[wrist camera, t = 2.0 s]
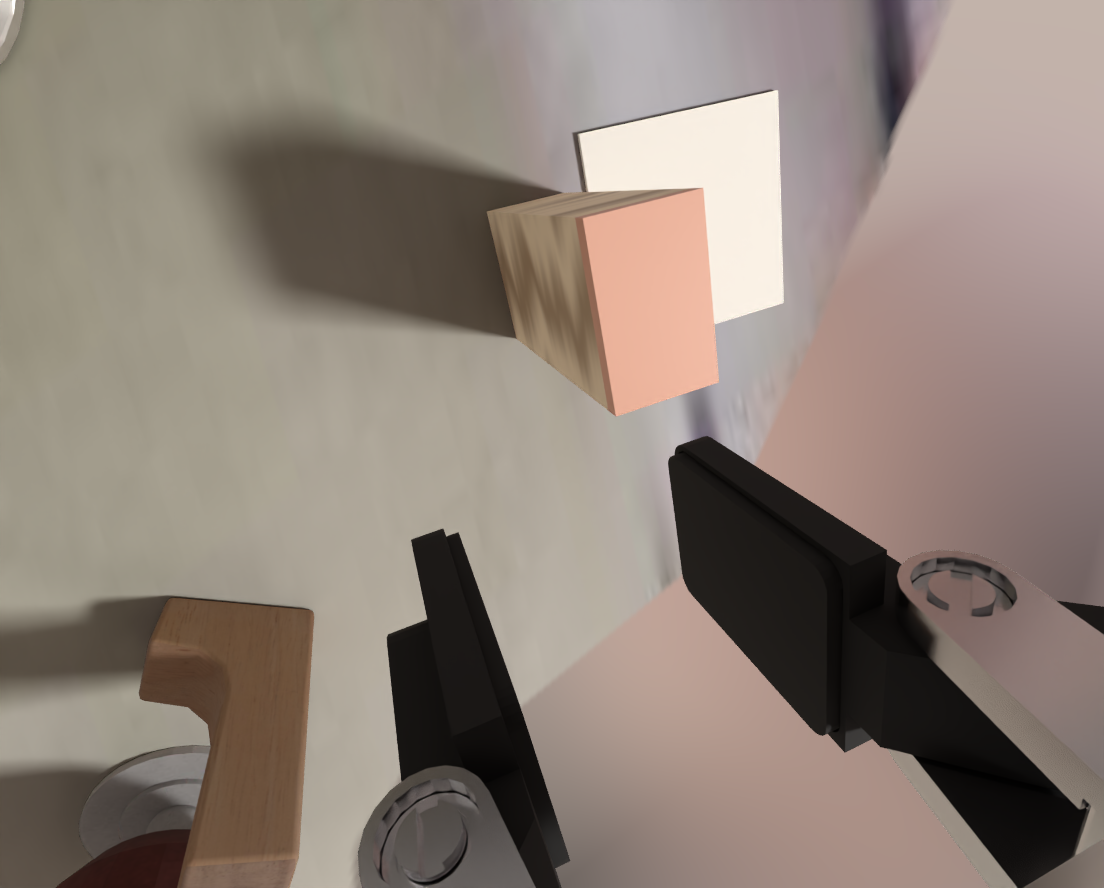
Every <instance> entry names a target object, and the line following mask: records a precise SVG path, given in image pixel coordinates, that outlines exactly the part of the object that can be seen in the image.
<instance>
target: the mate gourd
mask: <svg viewBox="0 0 1104 888" xmlns="http://www.w3.org/2000/svg"><path fill="white" fill-rule="evenodd" d="M210 747H211V746H182V747H173V748H168V749H164V750H159V751H155V752H152V753H149V754H146V755H143V756H141V757H138V758H135V759H133V760H131V761H130V762H128V763H126V764H124V765H122V766H120V767H118V768H117V769H116V770H114V771H113V772H112V773H110V774H109V775H107V776H106V777H105V778H104V779H103V780H102V781H101V782H100V783H99V784H98V785H97V786H96V787H95V788H94V789H93V791H92V793H91V794H90V796H89V798H88V799H87V801H86V803H85V806H84V808H83V810H82V814H81V817H80V821H79V836H80V838H81V841H82V843H83V846H84V848H85V849H86V850H87V851H88V853H89V854H90V855H91V856H92V857H93V858H94V859H93V860H92V861H91V862H89V863H88V864H87V865H85V866H84V867H82V868H81V869H80V870H78V871H77V872H76V873H74V874H73V875H71V876H70V877H69V878H67V879H66V880H65V881H63V882H62V883H61V884H59V885H58V886H57V887H56V888H177V886H178V882H179V878H180V873H181V869H182V865H183V861H184V856H185V852H186V848H187V844H188V840H189V835H190V831H191V827H192V823H193V819H194V815H195V810H196V806H197V802H198V798H199V794H200V789H201V785H202V781H203V777H204V773H205V768H206V764H207V760H208V756H209V752H210Z"/></svg>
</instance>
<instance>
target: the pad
mask: <svg viewBox="0 0 1104 888" xmlns="http://www.w3.org/2000/svg"><path fill="white" fill-rule="evenodd" d="M577 136H578V142H579V149H580V155H581V161H582V167H583V173H584V179H585V186H586V192H603V191H630V190H657V189H684V188H703V190H704V203H705V215H706V228H707V240H708V252H709V265H710V277H711V290H712V302H713V315H714V324H717V323H720V322H723V321H727V320H730V319H733V318H736V317H740V316H743V315H746V314H749V313H753V312H756V311H759V310H762V309H766V308H769V307H772V306H775V305H779V304H782V303H784V299H783V261H782V224H781V187H780V149H779V112H778V90H776V91H771V92H767V93H762V94H758V95H753V96H749V97H744V98H740V99H735V100H730V101H726V102H721V103H717V104H712V105H708V106H703V107H699V108H694V109H690V110H685V111H681V112H676V113H671V114H667V115H662V116H658V117H653V118H649V119H644V120H640V121H635V122H631V123H626V124H621V125H617V126H612V127H608V128H603V129H599V130H594V131H590V132H585V133H581V134H577Z"/></svg>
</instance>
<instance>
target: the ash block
mask: <svg viewBox="0 0 1104 888" xmlns="http://www.w3.org/2000/svg"><path fill="white" fill-rule="evenodd" d="M487 215H488V219H489V224H490V228H491V232H492V236H493V241H494V245H495V249H496V253H497V258H498V262H499V266H500V270H501V275H502V279H503V283H504V287H505V292H506V296H507V300H508V305H509V309H510V313H511V317H512V322H513V326H514V330H515V334H516V339H518V340H519V341H520V342H521V343H523V344H524V345H525V346H527V347H528V348H529V349H530V350H532V351H533V352H534V353H536V354H537V355H538V356H539V357H541V358H542V359H543V360H544V361H546V362H547V363H548V364H550V365H551V366H552V367H553V368H555V369H556V370H557V371H559V372H560V373H561V374H562V375H564V376H565V377H566V378H567V379H569V380H570V381H571V382H573V383H574V384H575V385H576V386H578V387H579V388H580V389H582V390H583V391H584V392H585V393H587V394H588V395H589V396H590V397H592V398H593V399H594V400H596V401H597V402H598V403H599V404H601V405H602V406H603V407H605V408H606V409H607V410H608V411H610V412H611V413H612V414H613V415H615V416H619V415H622V414H625V413H628V412H631V411H634V410H637V409H640V408H643V407H646V406H649V405H652V404H655V403H658V402H661V401H664V400H667V399H670V398H673V397H676V396H679V395H682V394H685V393H688V392H691V391H694V390H697V389H700V388H703V387H706V386H709V385H712V384H715V383H718V382H719V377H718V364H717V352H716V340H715V327H714V315H713V302H712V290H711V277H710V265H709V252H708V240H707V228H706V215H705V203H704V190H703V188H684V189H657V190H630V191H603V192H576V193H561V194H557V195H553V196H549V197H545V198H540V199H536V200H532V201H528V202H524V203H520V204H516V205H511V206H507V207H503V208H499V209H495V210H491V211H487Z"/></svg>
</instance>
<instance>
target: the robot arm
mask: <svg viewBox="0 0 1104 888" xmlns="http://www.w3.org/2000/svg"><path fill="white" fill-rule="evenodd" d="M23 10H24V0H0V64H1V63H2V62H3V61H4V60H5V59H6V58H7V56H8V54H9V52H10V50H11V48H12V46H13V44H14V42H15V40H16V38H17V36H18V33H19V29H20V24H21V20H22V15H23ZM668 467H669V475H670V482H671V490H672V498H673V505H674V513H675V521H676V529H677V536H678V544H679V552H680V560H681V567H682V574H683V579H684V581H685V584H686V586H687V588H688V590H689V592H690V593H691V594H692V595H693V597H694V598H695V599H696V600H697V601H698V602H699V603H700V604H701V605H702V607H703V608H704V609H705V610H706V611H707V612H708V613H709V615H710V616H711V617H712V618H713V619H714V620H715V621H716V622H717V623H718V625H719V626H720V627H721V628H722V629H723V630H724V631H725V632H726V634H727V635H728V636H729V637H730V638H731V639H732V640H733V641H734V643H735V644H736V645H737V646H738V647H739V648H740V649H741V650H742V651H743V653H744V654H745V655H746V656H747V657H748V658H749V659H750V660H751V662H752V663H753V664H754V665H755V666H756V667H757V668H758V669H759V671H760V672H761V673H762V674H763V675H764V676H765V677H766V678H767V680H768V681H769V682H770V683H771V684H772V685H773V686H774V687H775V689H776V690H777V691H778V692H779V693H780V694H781V695H782V696H783V697H784V699H785V700H786V701H787V702H788V703H789V704H790V705H791V706H792V708H793V709H794V710H795V711H796V712H797V713H798V714H799V715H800V717H801V718H802V719H803V720H804V721H805V722H806V723H807V724H808V725H809V727H810V728H811V729H812V730H813V731H814V732H816V733H817V734H819V735H822V736H823V735H825V734H827V733H828V734H829V736H830V737H831V738H832V739H833V740H834V741H835V742H836V743H837V744H838V745H839V747H840V748H841V749H842V750H843V751H844V752H847V751H849V750H851V749H853V748H855V747H857V746H859V745H861V744H863V743H865V742H867V741H869V740H871V739H873V740H874V741H875V742H876V743H877V744H878V745H879V746H880V747H883V748H887V749H888V750H889V752H890V754H891V755H892V757H893V759H894V761H895V763H896V764H897V765H898V766H899V768H900V769H901V771H902V772H903V773H904V775H905V776H906V777H907V778H908V780H909V781H910V783H911V784H912V785H913V786H914V788H915V789H916V790H917V792H918V793H919V794H920V796H921V797H922V798H923V800H924V801H925V802H926V804H927V805H928V806H929V808H930V809H931V810H932V812H933V813H934V814H935V816H936V817H937V818H938V820H939V821H940V822H941V824H942V825H943V826H944V828H945V829H946V830H947V832H948V833H949V834H950V836H951V837H952V838H953V840H954V841H955V842H956V844H957V845H958V846H959V848H960V849H961V850H962V852H963V853H964V854H965V856H966V857H967V858H968V860H969V861H970V862H971V863H972V865H973V866H974V868H975V869H976V870H977V872H978V873H979V874H980V876H981V877H982V878H983V880H984V881H985V882H986V884H987V885H988V886H989V888H1104V607H1101V606H1093V605H1085V604H1076V603H1069V602H1061V601H1055V600H1054V599H1053V598H1051V597H1050V596H1048V595H1047V594H1046V593H1044V592H1043V591H1041V590H1040V589H1039V588H1037V587H1036V586H1034V585H1033V584H1031V583H1030V582H1029V581H1027V580H1026V579H1024V578H1023V577H1022V576H1020V575H1019V574H1017V573H1016V572H1014V571H1013V570H1011V569H1009V568H1008V567H1006V566H1004V565H1002V564H1001V563H999V562H997V561H994V560H991V559H989V558H986V557H983V556H980V555H977V554H972V553H967V552H961V551H949V550H948V551H947V550H936V551H930V552H924V553H920V554H918V555H915V556H913V557H910V558H908V559H907V560H906V561H905V562H904V563H903V564H900V563H899V562H897V561H896V560H894V559H893V558H891V557H890V556H888V555H887V550H886V549H884V548H883V547H881V546H880V545H878V544H876V543H875V542H873V541H872V540H870V539H869V538H867V537H866V536H864V535H862V534H861V533H859V532H858V531H856V530H855V529H853V528H851V527H850V526H848V525H847V524H845V523H844V522H842V521H840V520H839V519H837V518H836V517H834V516H833V515H831V514H830V513H828V512H826V511H825V510H823V509H822V508H820V507H819V506H817V505H815V504H814V503H812V502H811V501H809V500H808V499H806V498H804V497H803V496H801V495H800V494H798V493H797V492H795V491H794V490H792V489H790V488H789V487H787V486H786V485H784V484H782V483H781V482H779V481H778V480H776V479H775V478H773V477H772V476H770V475H769V474H767V473H765V472H764V471H762V470H761V469H759V468H758V467H756V466H754V465H753V464H751V463H750V462H748V461H747V460H745V459H744V458H742V457H740V456H739V455H737V454H736V453H734V452H733V451H731V450H729V449H728V448H726V447H725V446H723V445H722V444H720V443H718V442H717V441H715V440H714V439H712V438H711V437H708V436H705V437H701V438H699V439H696V440H693V441H690V442H687V443H684V444H682V445H679V446H677V448H676V450H675V455H674V456H672V457H670V458H669V461H668ZM411 542H412V547H413V552H414V557H415V562H416V566H417V571H418V576H419V581H420V586H421V591H422V595H423V600H424V605H425V610H426V615H427V620H425V621H422V622H420V623H417V624H414V625H412V626H409V627H406V628H404V629H401V630H399V631H396V632H393V633H391V634H388V636H387V647H388V657H389V667H390V676H391V686H392V695H393V705H394V714H395V724H396V734H397V743H398V753H399V762H400V772H401V781H402V782H401V783H399V784H398V785H397V786H396V787H394V788H393V789H392V790H390V791H389V793H388V794H387V795H386V796H385V797H384V798H383V800H382V801H381V802H380V803H379V804H378V806H377V807H376V808H375V809H374V811H373V813H372V815H371V817H370V819H369V821H368V823H367V824H366V826H365V828H364V831H363V835H362V839H361V843H360V847H359V851H358V861H359V876H360V881H361V885H362V888H561V885H560V882H559V879H558V876H557V872H556V869H555V868H557V867H559V866H561V865H563V864H565V863H567V862H569V861H570V859H569V856H568V852H567V849H566V846H565V843H564V840H563V837H562V834H561V831H560V828H559V825H558V822H557V818H556V815H555V812H554V809H553V806H552V803H551V800H550V797H549V794H548V791H547V788H546V785H545V782H544V778H543V775H542V772H541V769H540V766H539V763H538V760H537V757H536V754H535V751H534V747H533V744H532V741H531V738H530V735H529V732H528V729H527V726H526V723H525V720H524V717H523V714H522V711H521V708H520V705H519V702H518V699H517V696H516V693H515V690H514V687H513V685H512V682H511V679H510V676H509V673H508V671H507V668H506V665H505V662H504V659H503V656H502V654H501V651H500V648H499V645H498V642H497V640H496V637H495V634H494V631H493V628H492V625H491V623H490V620H489V617H488V614H487V611H486V609H485V606H484V603H483V600H482V597H481V594H480V592H479V589H478V586H477V583H476V580H475V578H474V575H473V572H472V569H471V566H470V563H469V561H468V558H467V555H466V552H465V549H464V547H463V544H462V541H461V538H460V535H459V533H455V534H452V535H449V536H447V537H446V535H445V532H444V529H440V530H437V531H435V532H432V533H429V534H426V535H423V536H420V537H417V538H415V539H412V540H411ZM1087 807H1088V808H1087ZM1086 808H1087V809H1086Z"/></svg>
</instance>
